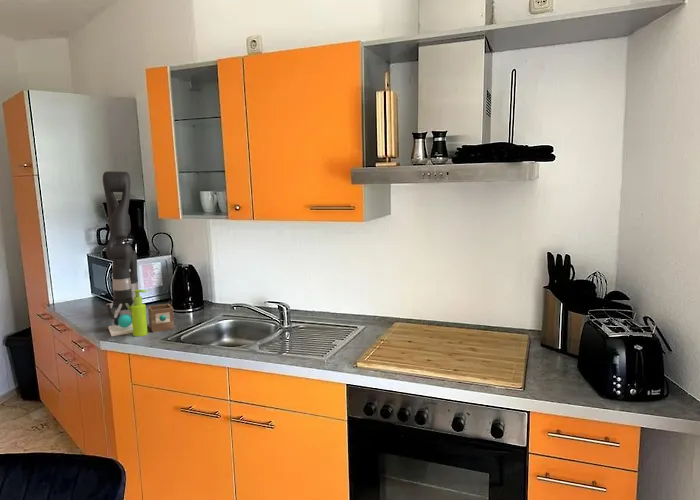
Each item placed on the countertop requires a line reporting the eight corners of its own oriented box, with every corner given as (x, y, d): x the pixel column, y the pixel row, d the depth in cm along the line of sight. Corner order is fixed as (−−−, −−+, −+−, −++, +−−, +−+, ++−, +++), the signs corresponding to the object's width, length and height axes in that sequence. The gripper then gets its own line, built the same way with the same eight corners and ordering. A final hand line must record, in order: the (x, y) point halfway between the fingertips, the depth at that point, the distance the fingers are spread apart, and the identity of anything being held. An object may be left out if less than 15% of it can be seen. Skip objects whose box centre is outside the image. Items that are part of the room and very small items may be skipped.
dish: (108, 328, 228) (108, 326, 228) (138, 324, 235) (138, 322, 235) (111, 336, 217) (111, 333, 217) (143, 331, 224) (143, 328, 223)
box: (149, 327, 230) (147, 306, 228) (170, 324, 234) (168, 303, 233) (152, 332, 222) (151, 310, 220) (174, 329, 226) (173, 307, 225)
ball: (117, 326, 227) (116, 313, 226) (131, 324, 230) (130, 312, 229) (118, 330, 222) (117, 317, 221) (133, 327, 225) (132, 315, 224)
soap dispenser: (144, 336, 215) (141, 291, 213) (130, 336, 217) (126, 291, 214) (152, 332, 221) (149, 288, 218) (138, 332, 223) (135, 288, 220)
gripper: (138, 284, 230) (140, 319, 233) (103, 288, 223) (106, 324, 225) (140, 287, 224) (143, 323, 226) (105, 291, 217) (108, 328, 219)
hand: (124, 324), depth 226 cm, fingers closed on ball, 6 cm apart
